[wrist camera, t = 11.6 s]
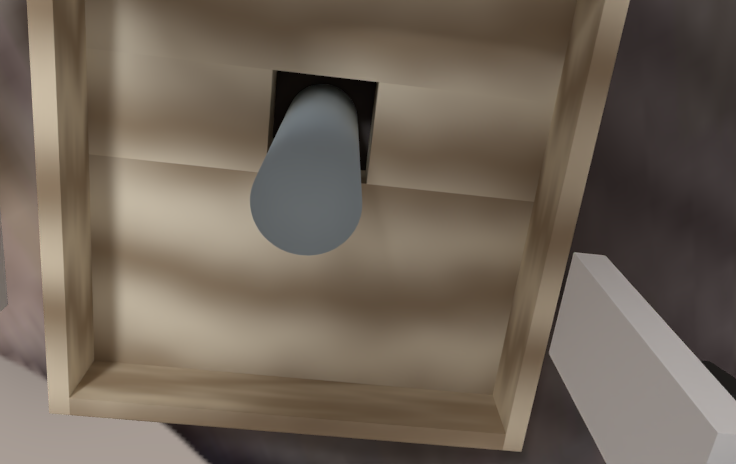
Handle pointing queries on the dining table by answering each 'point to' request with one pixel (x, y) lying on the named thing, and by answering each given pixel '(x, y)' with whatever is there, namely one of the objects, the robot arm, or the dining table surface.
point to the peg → (311, 175)
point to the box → (323, 271)
